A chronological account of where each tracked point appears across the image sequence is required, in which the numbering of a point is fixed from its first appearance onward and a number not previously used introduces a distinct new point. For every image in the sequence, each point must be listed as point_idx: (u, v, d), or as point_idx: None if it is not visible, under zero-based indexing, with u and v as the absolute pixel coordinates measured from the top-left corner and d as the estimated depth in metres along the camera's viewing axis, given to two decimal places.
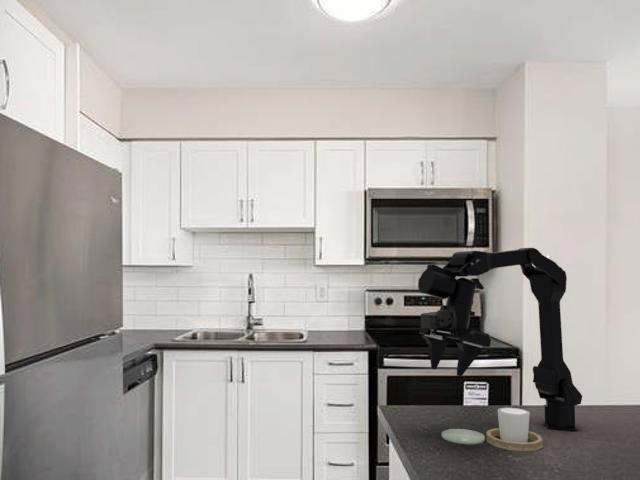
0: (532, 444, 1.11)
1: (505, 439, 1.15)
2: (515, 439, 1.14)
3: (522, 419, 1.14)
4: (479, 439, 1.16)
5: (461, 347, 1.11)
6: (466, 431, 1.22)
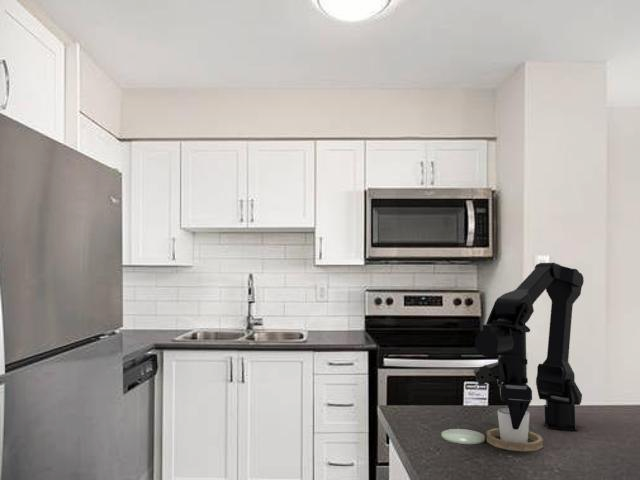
0: (532, 444, 1.11)
1: (505, 439, 1.15)
2: (515, 439, 1.14)
3: (522, 419, 1.14)
4: (479, 439, 1.16)
5: (504, 401, 1.12)
6: (466, 431, 1.22)
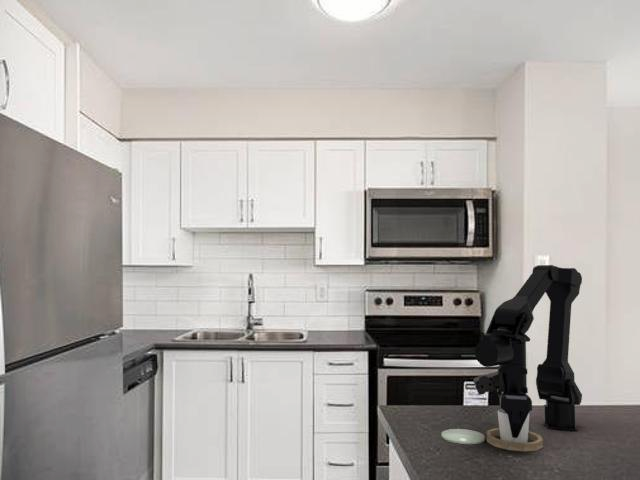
0: (532, 444, 1.11)
1: (505, 439, 1.15)
2: (515, 439, 1.14)
3: None
4: (479, 439, 1.16)
5: None
6: (466, 431, 1.22)
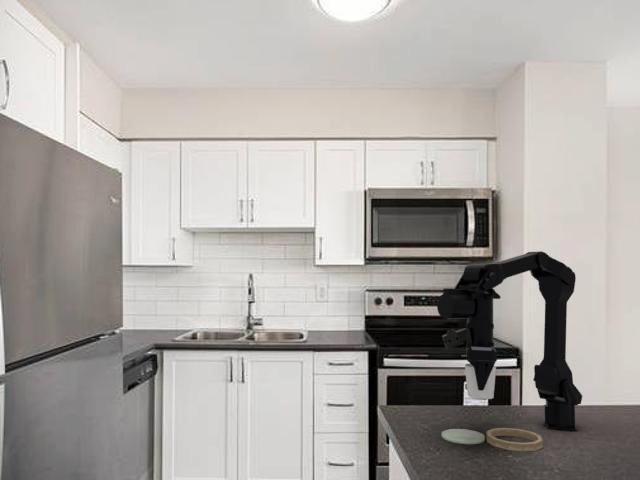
0: (532, 444, 1.11)
1: (471, 392, 1.17)
2: (481, 391, 1.16)
3: None
4: (479, 439, 1.16)
5: (470, 363, 1.15)
6: (466, 431, 1.22)
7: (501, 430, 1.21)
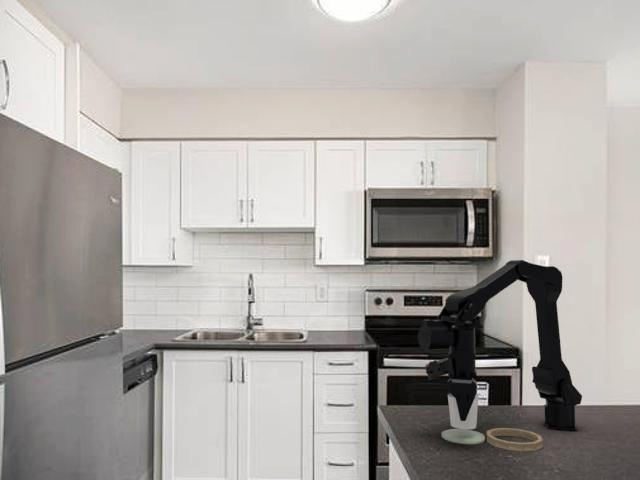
0: (532, 444, 1.11)
1: (454, 422, 1.18)
2: (463, 422, 1.17)
3: None
4: (479, 439, 1.16)
5: None
6: (466, 431, 1.22)
7: (501, 430, 1.21)
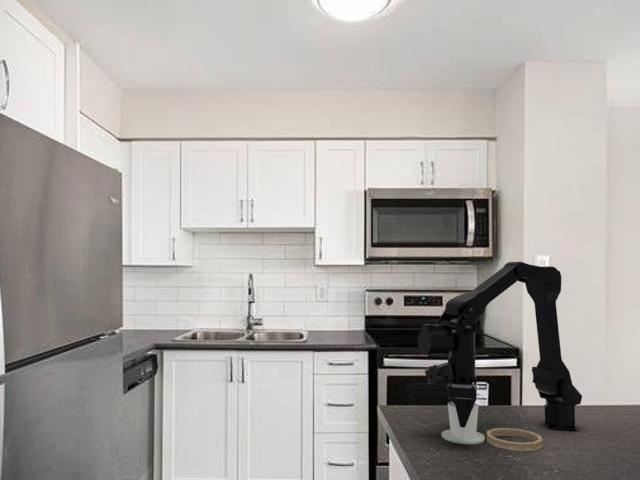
0: (532, 444, 1.11)
1: (454, 431, 1.18)
2: (463, 431, 1.17)
3: None
4: (479, 439, 1.16)
5: None
6: None
7: (501, 430, 1.21)
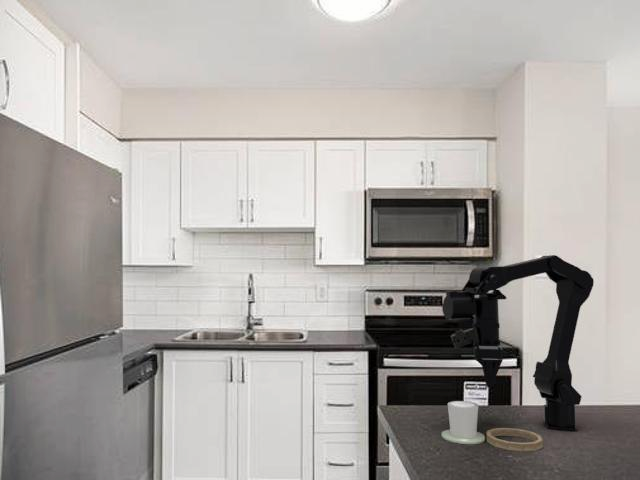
0: (532, 444, 1.11)
1: (454, 431, 1.18)
2: (463, 431, 1.17)
3: (470, 412, 1.17)
4: (479, 439, 1.16)
5: None
6: None
7: (501, 430, 1.21)
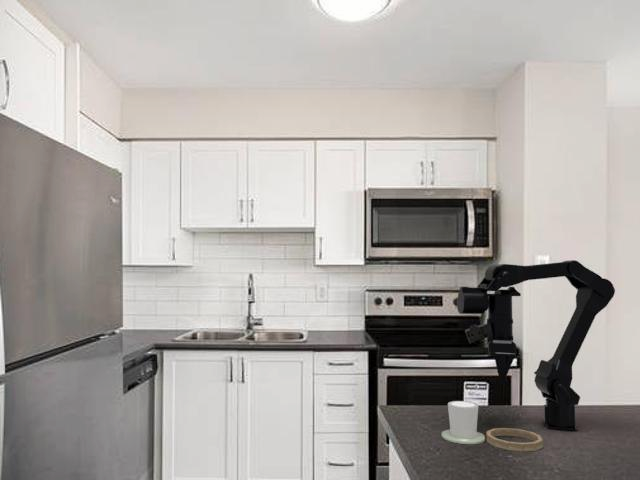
0: (532, 444, 1.11)
1: (454, 431, 1.18)
2: (463, 431, 1.17)
3: (470, 412, 1.17)
4: (479, 439, 1.16)
5: None
6: None
7: (501, 430, 1.21)
